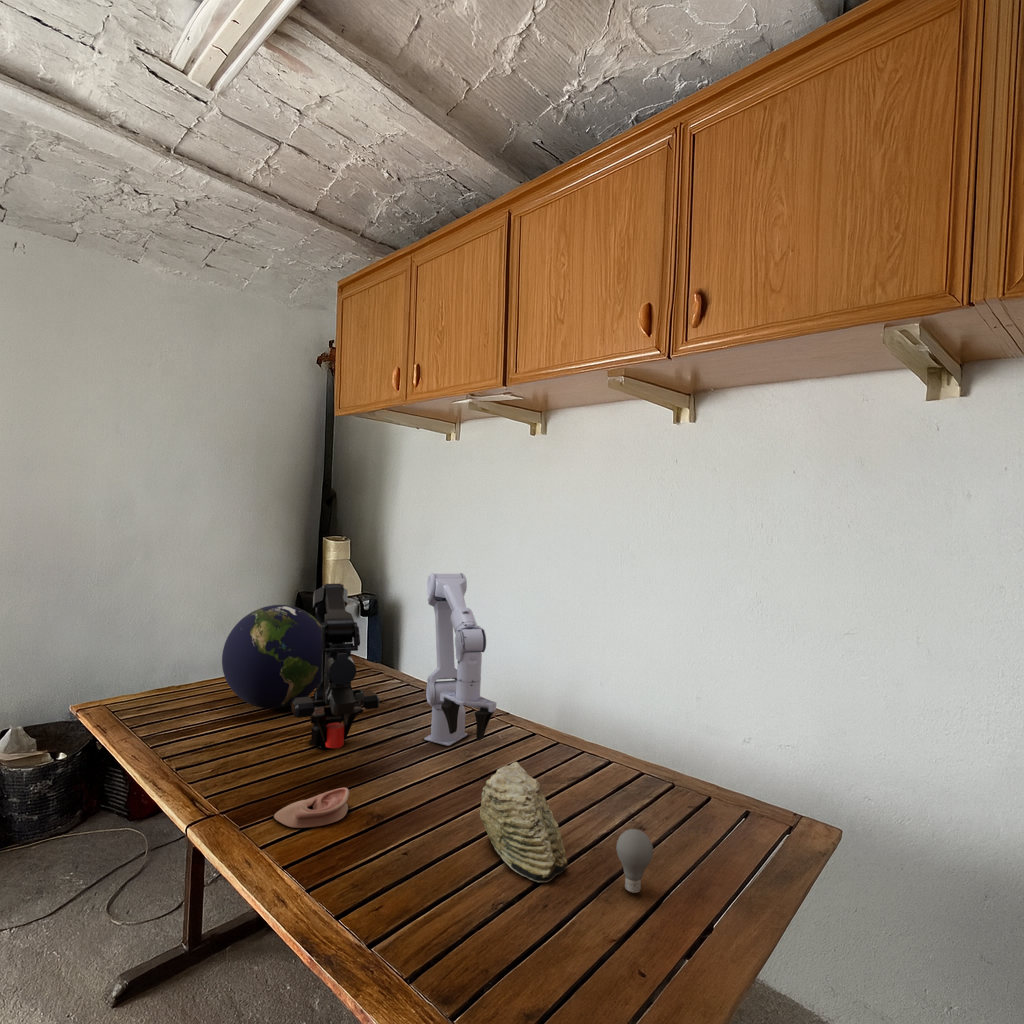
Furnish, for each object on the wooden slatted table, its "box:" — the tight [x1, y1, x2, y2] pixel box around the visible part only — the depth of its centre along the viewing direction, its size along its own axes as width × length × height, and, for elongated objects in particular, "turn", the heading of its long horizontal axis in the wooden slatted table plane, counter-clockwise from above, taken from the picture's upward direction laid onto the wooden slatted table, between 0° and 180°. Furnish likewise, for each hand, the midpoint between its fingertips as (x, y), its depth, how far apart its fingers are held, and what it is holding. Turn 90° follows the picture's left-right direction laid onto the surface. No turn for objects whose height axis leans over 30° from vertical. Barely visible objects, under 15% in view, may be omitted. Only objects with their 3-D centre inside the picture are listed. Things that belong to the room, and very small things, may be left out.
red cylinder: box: [325, 722, 345, 749], centre depth 144 cm, size 4×4×4 cm
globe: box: [221, 604, 321, 709], centre depth 188 cm, size 30×30×30 cm
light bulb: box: [615, 828, 654, 894], centre depth 106 cm, size 6×6×10 cm
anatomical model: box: [273, 787, 350, 829], centre depth 126 cm, size 13×4×12 cm
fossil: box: [479, 761, 569, 883], centre depth 114 cm, size 9×18×15 cm, turn 46°
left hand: (334, 740), depth 144 cm, fingers closed on red cylinder, 4 cm apart
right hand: (466, 735), depth 151 cm, fingers open, 7 cm apart
